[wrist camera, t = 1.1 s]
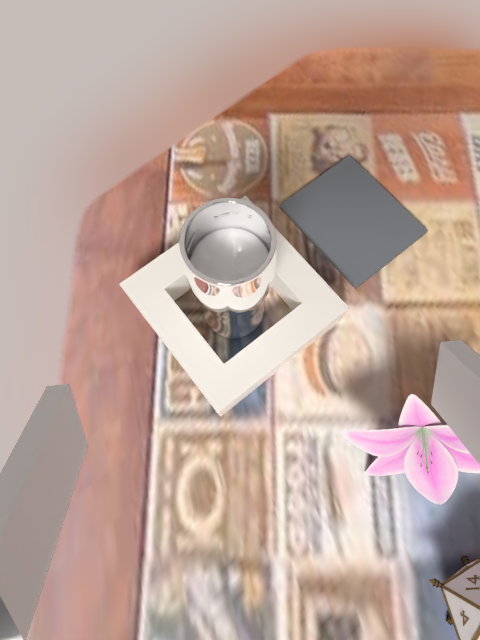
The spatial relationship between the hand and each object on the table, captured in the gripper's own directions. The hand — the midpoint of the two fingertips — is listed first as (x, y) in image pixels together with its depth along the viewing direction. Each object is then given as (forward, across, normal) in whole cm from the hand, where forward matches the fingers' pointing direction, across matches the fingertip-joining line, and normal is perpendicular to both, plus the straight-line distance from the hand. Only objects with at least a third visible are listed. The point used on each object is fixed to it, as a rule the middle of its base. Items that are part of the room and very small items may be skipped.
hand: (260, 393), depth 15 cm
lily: (+16, +14, -20) cm, 29 cm away
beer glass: (+27, 0, -9) cm, 28 cm away
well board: (+27, 0, -9) cm, 28 cm away
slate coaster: (+32, +14, -2) cm, 35 cm away
